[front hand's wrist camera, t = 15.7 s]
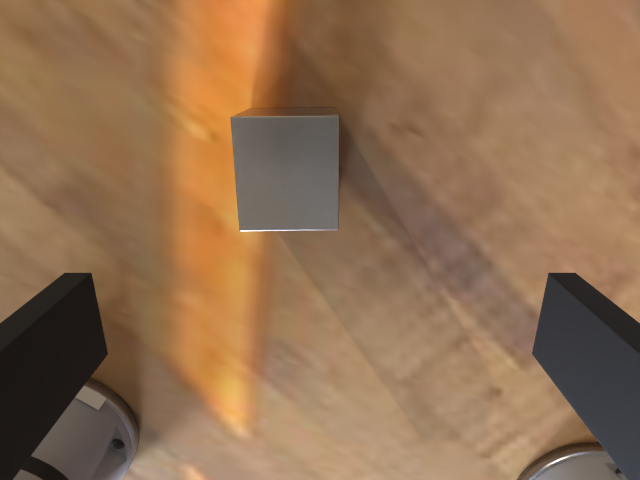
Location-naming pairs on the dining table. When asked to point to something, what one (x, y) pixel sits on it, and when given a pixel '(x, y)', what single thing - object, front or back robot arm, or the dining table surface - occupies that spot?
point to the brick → (287, 168)
